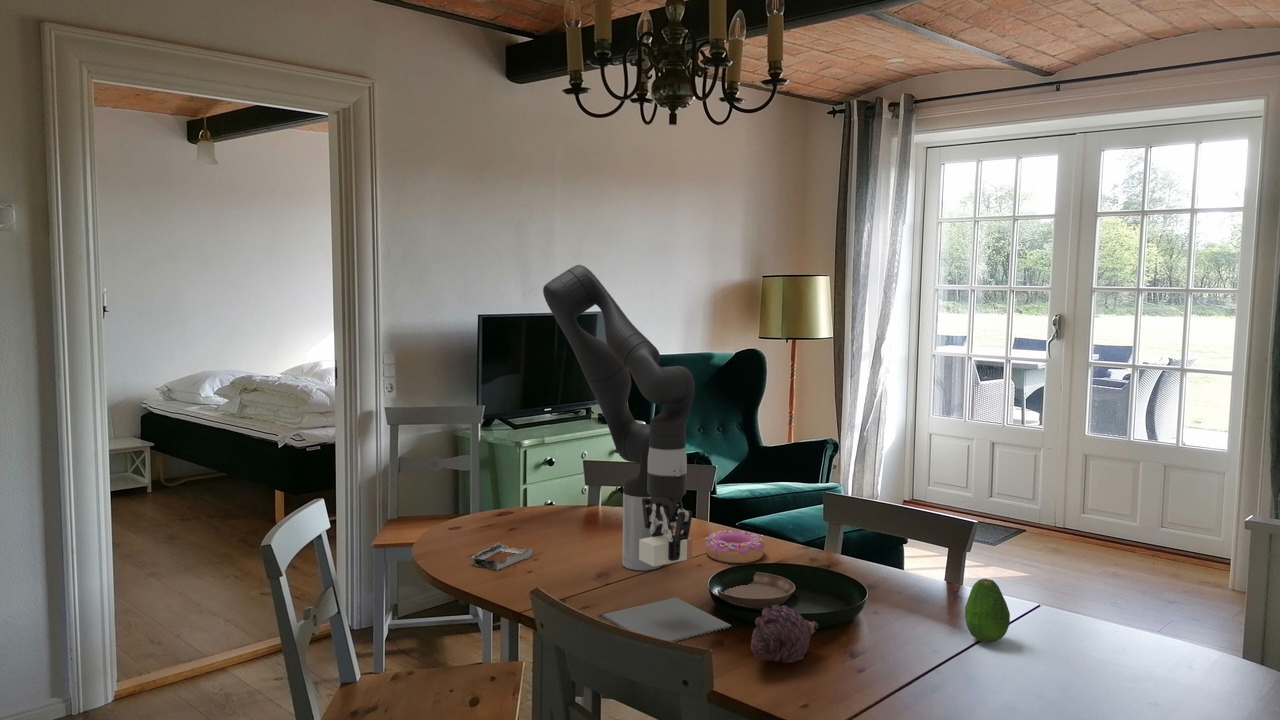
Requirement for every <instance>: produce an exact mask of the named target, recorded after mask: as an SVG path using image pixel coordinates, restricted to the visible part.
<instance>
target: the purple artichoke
mask: <svg viewBox="0 0 1280 720" xmlns="http://www.w3.org/2000/svg"><path fill="white" fill-rule="evenodd" d="M754 624H755V627H754V628H753V631H752V635H751V643H750V649H751V652H752V654H753V655H754V658H755V659H759V660H765V661H773V662H778V661H781V662H782V663H784V664H786V663H791V664H792V663H795V662H797V661H801V660H803V659H804V657H805V654H806V653H807V651H808V648H809V647H810V641H811V638H812V635H813V634H814V633H815V632H816V630H817V629H818V628H819V623H818V622H816V621H815V620H813V621H810V620H807V619H804V617H803V616H802V615H801V614H800V613H799V612H798V611H796V609H794V608H791V607H790V606H788V605H773V606H772V607H768V608H762V610H761V615H760V616H758V617H756V618H755V620H754Z"/></svg>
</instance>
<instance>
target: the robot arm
mask: <svg viewBox="0 0 1280 720" xmlns="http://www.w3.org/2000/svg"><path fill="white" fill-rule="evenodd" d="M542 291H543V292H542V293H543V297H544V299H545V302H546V304H547V306H548V308H549V310H550V311H551V313H552V315H553V316H554V317H553V318H554V319H555V321H556V322H557V324H558V326H559V327H560V329H561V331H562V333H563V334H564V336H565V338H566V340H567V341H568V343H569V345H570V347H571V349H572V351H573V353H574V355H575V357H576V359H577V362H578V363H579V366H580V368H581V370H582V373H583V375H584V378H585V379H586V381H587V384H588V386H589V388H590V390H591V391H592V393H593V395H594V397H595V399H596V401H597V403H598V405H599V408H600V410H601V412H602V414H603V416H604V419H605V421H606V424H607V427H608V430H609V432H610V435H611V439H612V441H613V444H614V447H615V449H616V451H617V454H618V455H619V457H620V458H621V459H622V460H624V461H626V462H630V463H634V464H640V465H639V472H638V475H635V476H630V477H629V478H626V479H625V480H624V481H623V485H622V487H623V488H622V489H623V491H622V492H623V494H622V566H623V567H624V568H625V569H628V570H629V569H630V570H631V571H632V570H634V571H651V570H656V569H659V568H661V567H662V566H665V565H666V564H664V565H658V566H652V565H650V564H647V563H645V562H643V561H641V560H639V539H644V538H650V537H656V536H662V535H667V534H668V537H669V541H668V543H669V550H668V559H669V560H671V561H674V560H678V559H679V557H680V542H681V540H686V539H688V537H689V536H690V535H689V534H690V529H691V524H692V518H693V511H692V510H686V509H684V508H683V507H684V506H683V501H682V498H683V496H685V495H686V494H687V475H688V474H687V468H688V467H687V466H688V463H687V462H688V461H687V460H688V459H687V458H688V457H687V451H686V450H687V449H686V448H687V446H686V445H687V442H686V441H687V425H688V421H689V417H690V413H691V410H692V405H693V401H694V397H695V391H696V387H695V380H694V377H693V375H692V373H691V371H690V370H689V369H688V368H686V367H685V366H683V365H682V366H681V365H673V366H672V365H671V366H663V367H662V366H660V365H659V363H660V359H661V354H660V351H659V350H658V349H657V347H656V346H655V344H653V343H652V341H650V340H649V339H648V338H647V337H646V336H645V335H644V334H643V333H642V332H641V331H640V330H639V329H638V328H637V327H636V326H635V325H634V324H633V323H632V322H631V320H630V319H629V318H628V316H627V315H626V314H625V312H624V311H623V310H622V308H621V307H620V306H619V305H618V302H616V300H615V299H614V298H613V297H612V295H611V294H610V293H609V292H608V290H607V289H606V287H605V286H604V285H603V284H602V282H601V281H600V280H599V278H598V277H597V276H596V275H595V274H594V272H592V271H591V270H590V269H589V268H587V267H586V266H585V265H582V264H577V265H574V266H572V267H569V269H567V270H565V271H564V272H562V273H561V274H559V275H557V276H555V277H554V278H552V279H551V280H550V281H548V282H547V283H546V284H544V286H543V288H542ZM594 306H597V307H598V308H599V310H600V311H601V313H602V317H603V318H602V319H603V321H604V329H605V330H604V331H605V332H604V334H605V340H606V342H605V341H603V340H602V339H599V338H597V337H595V336H594V335H592V334H590V333H589V332H588V331H586V330H584V329H583V328H582V327H581V325H580V324H579V322H578V321H577V317H578V316H580V315H582V314H584V312H587V310H589V309H591V308H593V307H594ZM632 379H633V380H634V381H633V382H634V383H635V384H636V386H637V388H638V390H639V392H640V393H641V395H642V396H643V397H644V398H645V399H646V400H647V401H649V402H650V403H652V404H655V405H662V410H661V412H660V413H658V414H657V415H655V416H654V417H652V418H651V419H650V422H649V423H648V424H646V423H640V422H638V421H636V419H635V418H634V417H633V414H632V412H631V411H630V408H629V405H628V400H629V397H630V392H631V387H632ZM674 530H675V532H674ZM666 531H667V532H666ZM673 533H675V535H674V534H673Z"/></svg>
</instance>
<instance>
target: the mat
mask: <svg viewBox="0 0 1280 720" xmlns="http://www.w3.org/2000/svg"><path fill="white" fill-rule="evenodd" d="M602 618H604V619H606V620H607V621H609V622H610V623H612V624H614V623H616V624H615V625H616V626H617V627H619V628H621V627H622V628H625V629H628V630H631V631H635V632H638V633H641V634H645V635H649V636H652V637H656V638H660V639H664V640H668V641H673V642H674V643H677V642H679V641H677V640H681V641H684V640H683V639H685V640H688V638H689V639H691V638H690V637H693V638H695V637H694V636H697V637H699V636H698V635H701V636H703V635H702V634H704V635H706V634H705V633H708V634H711V633H710V632H712V633H714V632H713V631H716V632H718V631H717V630H720V631H722V630H721V629H723V630H726V628H727V629H730V628H729V627H731V628H732V624H729V623H728V622H725V621H724V620H722V619H720V618H718V617H716V616H714V615H712V614H710V613H708V612H706V611H704V610H702V609H700V608H698V607H696V606H694V605H692V604H690V603H688V602H686V601H684V600H682V599H680V598H678V597H671V598H667V599H664V600H659V601H655V602H650V603H646V604H641V605H638V606H633V607H628V608H623V609H619V610H616V611H612V612H606V613H603V614H602ZM627 627H628V628H627ZM622 628H621V629H622ZM633 629H634V630H633ZM637 630H638V631H637Z"/></svg>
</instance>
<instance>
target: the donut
mask: <svg viewBox="0 0 1280 720" xmlns="http://www.w3.org/2000/svg"><path fill="white" fill-rule="evenodd" d="M704 538H705V542H704V545H705V547H704V548H705V551H706V554H707V555H708V556H709V557H710V558H711V559H713V560H716V561H718V562H721V563H729V564H747V563H752V562H753V561H754V562H757V561H758V560H760V559H761V558H762V557H763V556H764V552H765V544H764V540H763V538H762V536H759V535H757V534H755V533H752V532H748V531H744V530H736V529H733V530H731V529H730V530H729V529H726V530H719V531H714V532H712V533H710V534H708V535H707V536H706V537H704ZM756 560H757V561H756Z"/></svg>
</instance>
